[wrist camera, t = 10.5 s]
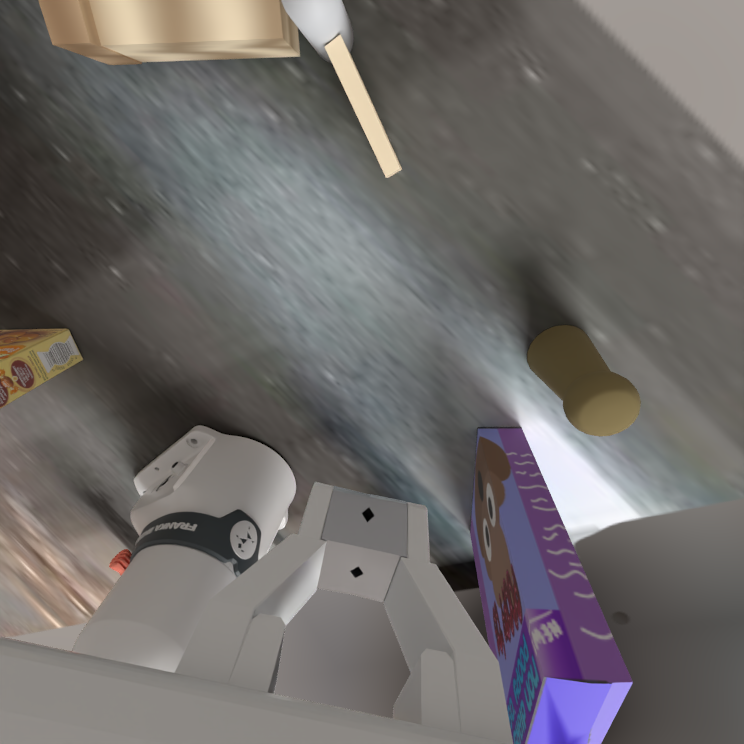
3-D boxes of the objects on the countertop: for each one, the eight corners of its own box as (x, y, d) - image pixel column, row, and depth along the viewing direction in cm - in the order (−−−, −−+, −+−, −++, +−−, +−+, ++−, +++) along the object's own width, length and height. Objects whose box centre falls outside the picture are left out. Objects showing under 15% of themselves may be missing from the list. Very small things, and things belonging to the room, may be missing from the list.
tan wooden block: (296, 10, 26) (272, -24, 21) (300, 58, 27) (278, 35, 23) (97, 19, 27) (35, -11, 23) (109, 64, 28) (52, 44, 24)
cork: (531, 385, 39) (571, 455, 29) (522, 334, 37) (562, 393, 27) (593, 371, 38) (656, 439, 28) (588, 317, 35) (655, 372, 26)
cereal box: (477, 427, 42) (544, 680, 21) (521, 427, 42) (634, 687, 21) (469, 531, 50) (513, 789, 29) (506, 532, 50) (577, 795, 29)
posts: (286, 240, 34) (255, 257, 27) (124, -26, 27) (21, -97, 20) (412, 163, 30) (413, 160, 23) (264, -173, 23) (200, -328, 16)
